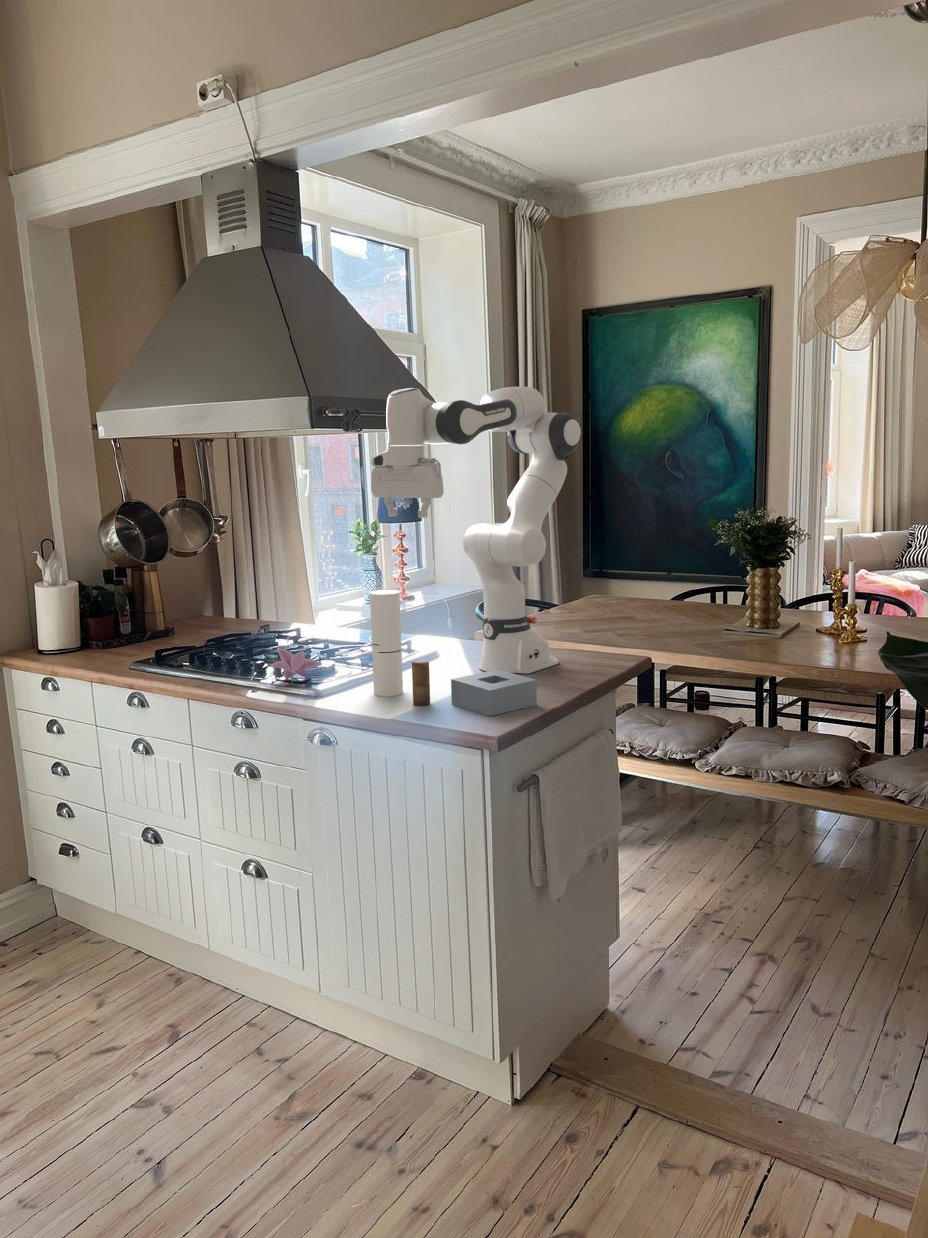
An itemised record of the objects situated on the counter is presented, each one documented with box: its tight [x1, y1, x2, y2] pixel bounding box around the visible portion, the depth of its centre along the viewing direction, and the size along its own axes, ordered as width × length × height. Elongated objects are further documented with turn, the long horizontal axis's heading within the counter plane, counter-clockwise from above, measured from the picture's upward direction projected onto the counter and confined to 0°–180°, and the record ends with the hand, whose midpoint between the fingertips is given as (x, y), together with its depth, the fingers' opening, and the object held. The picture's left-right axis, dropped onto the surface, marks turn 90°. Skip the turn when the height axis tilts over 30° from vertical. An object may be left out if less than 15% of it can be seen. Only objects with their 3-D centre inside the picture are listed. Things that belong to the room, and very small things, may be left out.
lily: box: [269, 647, 322, 685], centre depth 239 cm, size 12×12×10 cm
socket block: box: [450, 670, 538, 717], centre depth 214 cm, size 14×14×6 cm
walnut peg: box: [411, 660, 431, 707], centre depth 216 cm, size 4×4×10 cm
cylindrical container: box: [369, 589, 404, 697], centre depth 226 cm, size 7×7×25 cm
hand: (407, 516), depth 222 cm, fingers open, 8 cm apart
